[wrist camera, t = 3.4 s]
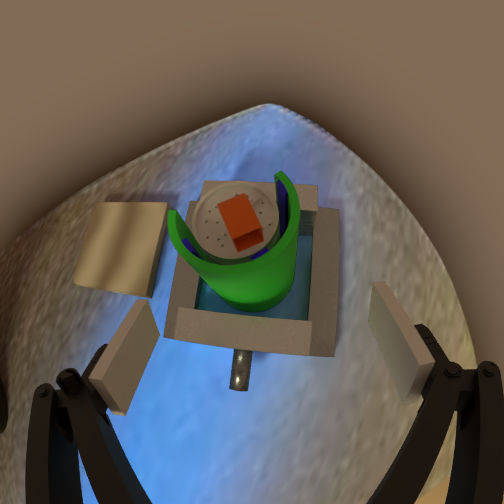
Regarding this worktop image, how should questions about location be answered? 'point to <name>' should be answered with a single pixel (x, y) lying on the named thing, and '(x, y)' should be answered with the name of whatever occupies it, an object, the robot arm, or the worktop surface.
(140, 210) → the board
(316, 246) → the vise
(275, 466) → the worktop surface
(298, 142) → the worktop surface
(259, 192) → the green-shelled ribbed roller
